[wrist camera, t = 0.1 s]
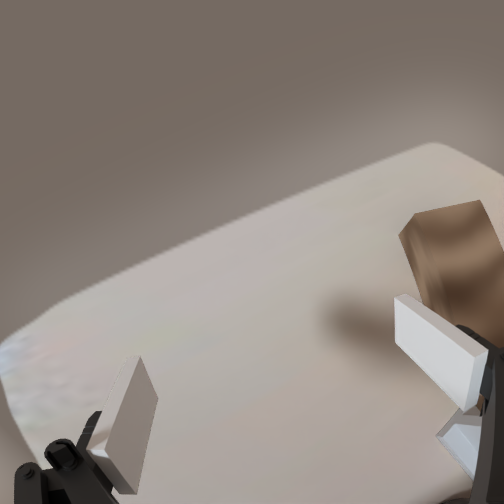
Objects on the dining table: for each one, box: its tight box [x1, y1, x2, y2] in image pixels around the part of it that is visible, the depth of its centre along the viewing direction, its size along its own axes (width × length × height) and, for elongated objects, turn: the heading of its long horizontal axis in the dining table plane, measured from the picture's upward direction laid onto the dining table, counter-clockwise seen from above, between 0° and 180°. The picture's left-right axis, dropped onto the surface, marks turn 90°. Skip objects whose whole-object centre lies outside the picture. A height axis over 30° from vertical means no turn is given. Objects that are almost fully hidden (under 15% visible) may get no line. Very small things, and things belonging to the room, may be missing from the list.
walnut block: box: [399, 200, 504, 348], centre depth 28 cm, size 18×10×5 cm, turn 12°
